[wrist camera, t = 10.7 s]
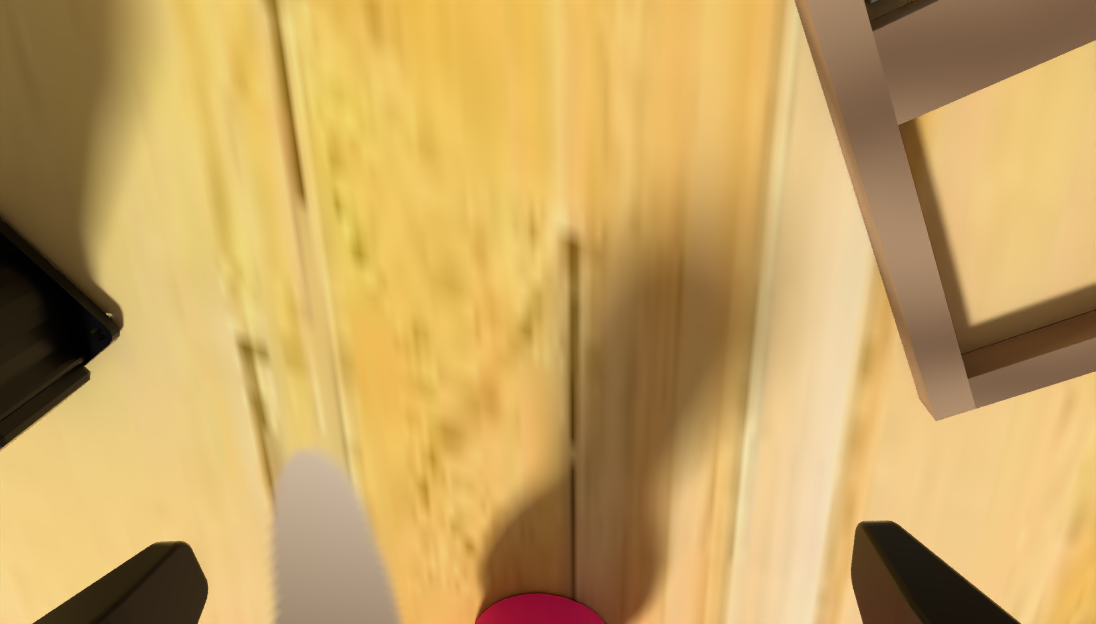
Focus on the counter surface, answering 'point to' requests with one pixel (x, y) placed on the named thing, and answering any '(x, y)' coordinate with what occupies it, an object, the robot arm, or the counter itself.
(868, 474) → the counter surface
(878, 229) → the brown wooden frame
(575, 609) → the pepper mill
